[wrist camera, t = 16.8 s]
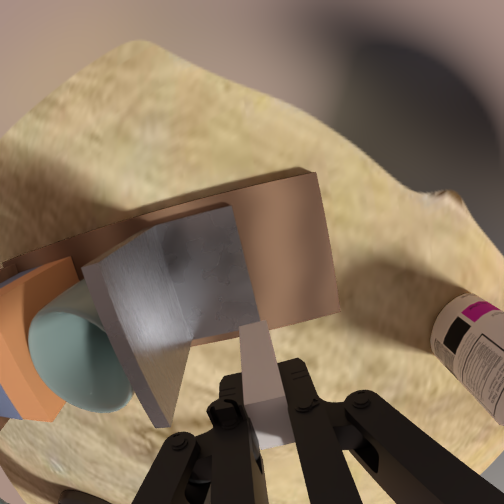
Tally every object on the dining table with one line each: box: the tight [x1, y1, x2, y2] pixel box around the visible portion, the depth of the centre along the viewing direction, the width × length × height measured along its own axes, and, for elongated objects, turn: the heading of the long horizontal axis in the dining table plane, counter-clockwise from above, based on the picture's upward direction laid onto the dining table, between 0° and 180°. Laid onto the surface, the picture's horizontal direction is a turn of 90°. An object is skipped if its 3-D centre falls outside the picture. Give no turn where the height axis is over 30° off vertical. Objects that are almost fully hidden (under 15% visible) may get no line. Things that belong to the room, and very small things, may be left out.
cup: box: [28, 278, 135, 413], centre depth 20 cm, size 8×8×10 cm
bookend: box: [81, 205, 261, 428], centre depth 19 cm, size 7×10×11 cm
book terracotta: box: [0, 256, 79, 422], centre depth 20 cm, size 4×9×11 cm, turn 13°
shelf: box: [0, 172, 341, 431], centre depth 20 cm, size 31×12×13 cm, turn 103°
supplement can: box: [430, 293, 504, 426], centre depth 22 cm, size 8×8×15 cm
